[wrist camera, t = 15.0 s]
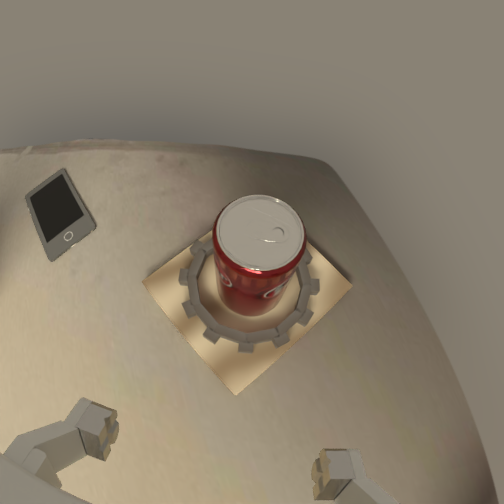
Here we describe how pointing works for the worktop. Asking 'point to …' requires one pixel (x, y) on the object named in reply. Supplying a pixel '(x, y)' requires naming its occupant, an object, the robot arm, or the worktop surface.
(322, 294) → the ring board
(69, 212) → the smartphone
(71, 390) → the worktop surface
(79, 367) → the worktop surface
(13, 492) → the robot arm
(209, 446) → the worktop surface
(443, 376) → the worktop surface
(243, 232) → the soda can
